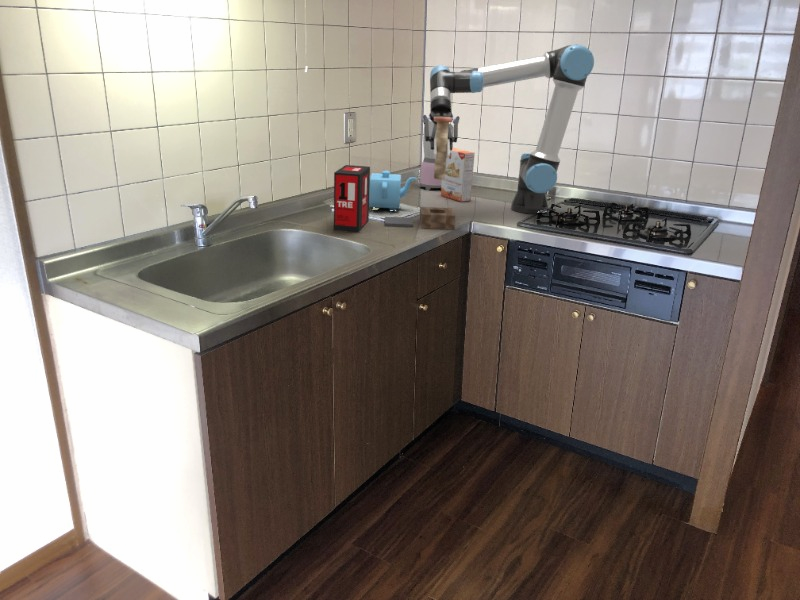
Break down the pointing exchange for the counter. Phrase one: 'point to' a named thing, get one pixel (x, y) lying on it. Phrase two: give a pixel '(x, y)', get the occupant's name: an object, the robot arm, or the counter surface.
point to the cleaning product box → (351, 198)
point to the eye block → (437, 218)
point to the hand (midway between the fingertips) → (441, 156)
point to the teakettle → (387, 190)
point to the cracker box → (458, 175)
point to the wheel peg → (441, 146)
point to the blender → (429, 162)
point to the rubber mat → (398, 221)
